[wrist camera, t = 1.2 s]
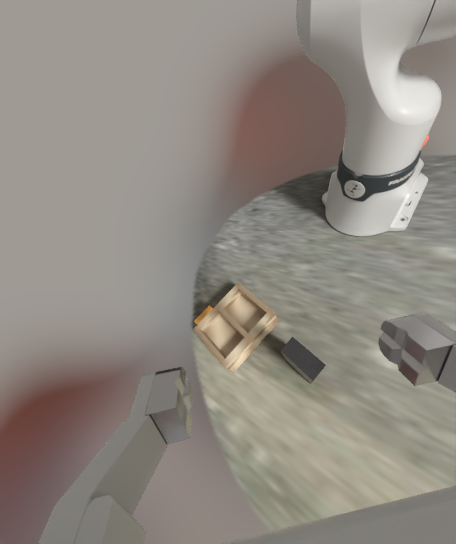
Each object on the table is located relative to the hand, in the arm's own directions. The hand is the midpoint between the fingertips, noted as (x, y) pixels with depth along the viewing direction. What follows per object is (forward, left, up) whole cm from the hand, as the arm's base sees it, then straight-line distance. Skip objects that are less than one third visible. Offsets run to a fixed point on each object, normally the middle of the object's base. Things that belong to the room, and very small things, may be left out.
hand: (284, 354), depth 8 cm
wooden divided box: (+1, -15, -33) cm, 36 cm away
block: (-2, -1, -33) cm, 33 cm away
